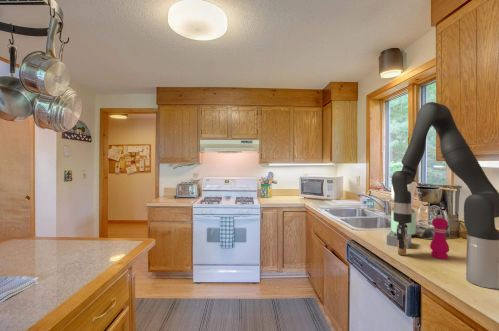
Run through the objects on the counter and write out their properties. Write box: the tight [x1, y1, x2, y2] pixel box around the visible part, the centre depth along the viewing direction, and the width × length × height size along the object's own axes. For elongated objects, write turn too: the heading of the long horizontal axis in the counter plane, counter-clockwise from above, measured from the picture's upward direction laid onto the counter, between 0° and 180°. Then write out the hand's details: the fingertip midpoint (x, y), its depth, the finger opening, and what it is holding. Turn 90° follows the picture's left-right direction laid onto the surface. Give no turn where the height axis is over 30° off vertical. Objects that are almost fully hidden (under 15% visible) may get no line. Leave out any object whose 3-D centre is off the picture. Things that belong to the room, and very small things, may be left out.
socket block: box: [386, 231, 412, 250], centre depth 136 cm, size 10×10×5 cm
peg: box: [397, 236, 407, 256], centre depth 120 cm, size 3×3×10 cm
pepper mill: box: [429, 214, 450, 260], centre depth 118 cm, size 7×7×20 cm
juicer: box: [390, 179, 417, 237], centre depth 154 cm, size 19×13×35 cm
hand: (402, 247), depth 120 cm, fingers closed on peg, 3 cm apart
